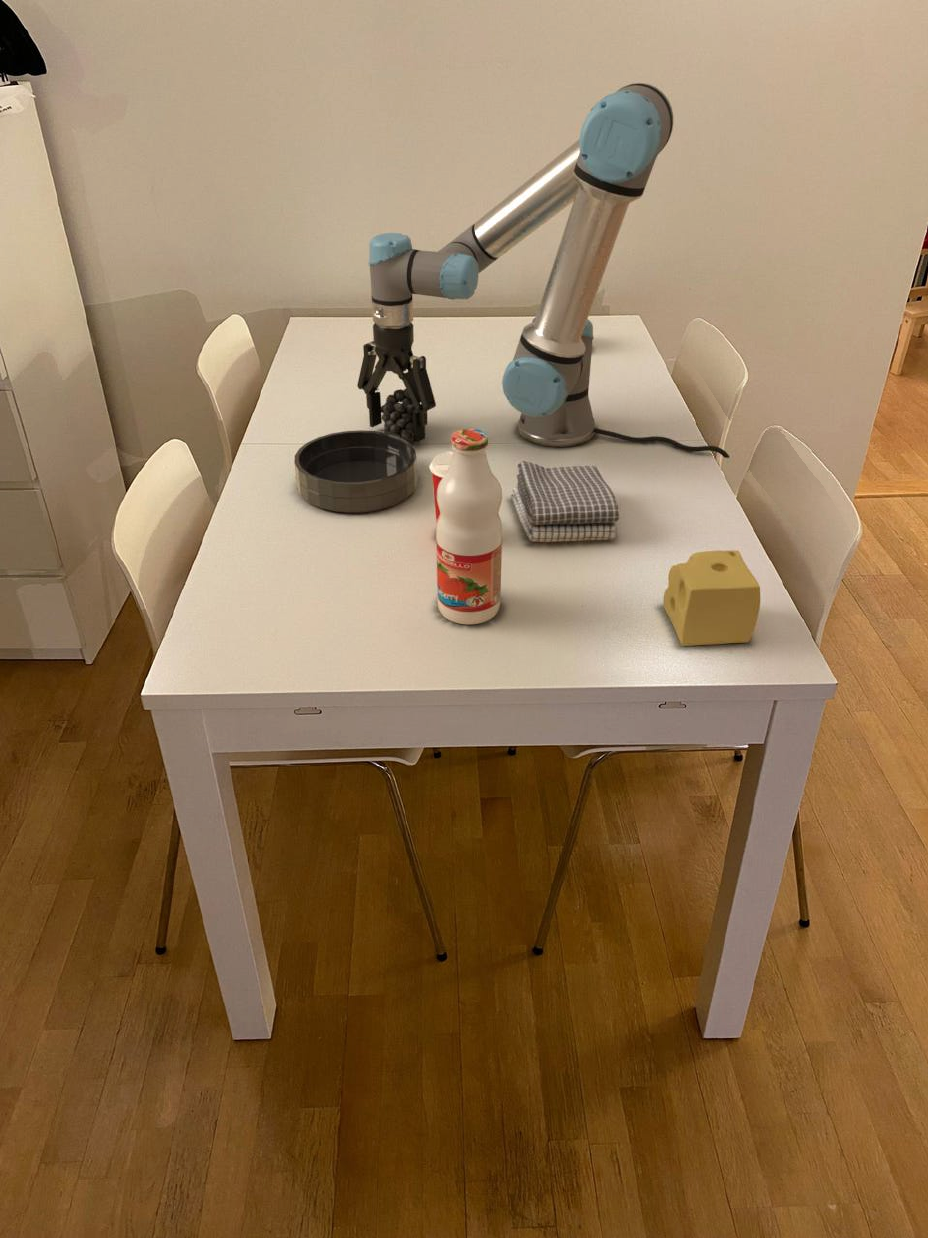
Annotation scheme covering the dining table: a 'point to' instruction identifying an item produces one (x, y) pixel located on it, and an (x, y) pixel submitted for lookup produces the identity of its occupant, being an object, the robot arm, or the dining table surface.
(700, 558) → the cheese
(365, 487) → the bowl
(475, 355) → the dining table surface
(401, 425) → the fruit
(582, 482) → the towel
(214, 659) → the dining table surface
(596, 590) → the dining table surface
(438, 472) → the paper cup
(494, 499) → the fruit juice
